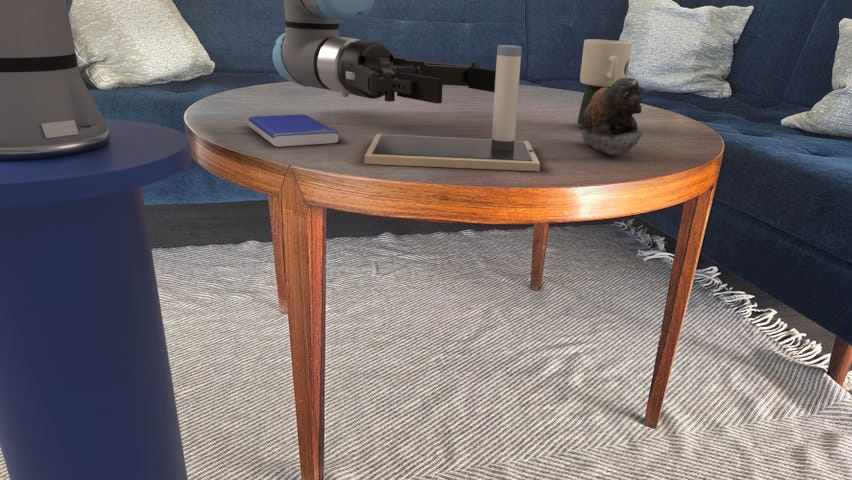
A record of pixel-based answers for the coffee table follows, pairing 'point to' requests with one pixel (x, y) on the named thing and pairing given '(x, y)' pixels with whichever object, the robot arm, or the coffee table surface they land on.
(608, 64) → the character mug
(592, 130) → the bison figurine
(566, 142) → the coffee table surface
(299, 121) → the blue book
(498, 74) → the stylus
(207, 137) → the coffee table surface
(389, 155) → the tablet
